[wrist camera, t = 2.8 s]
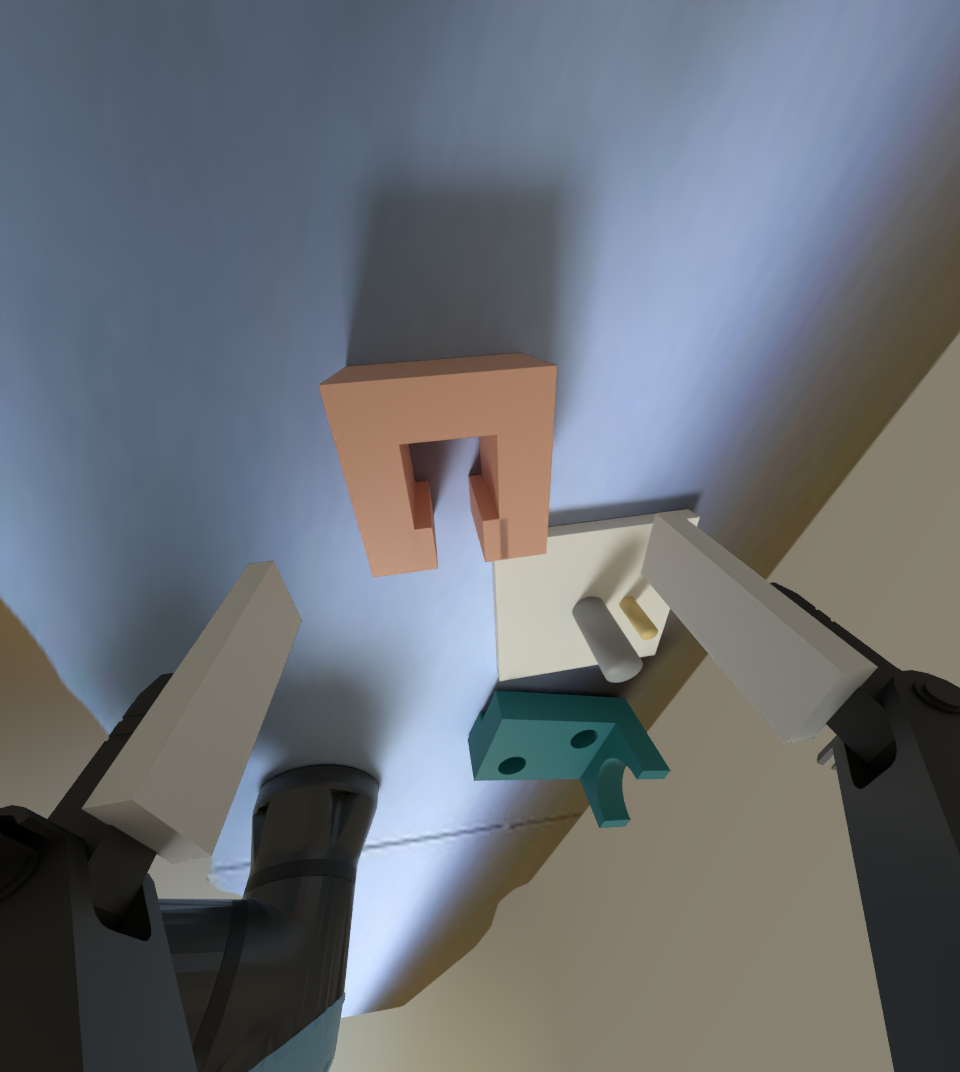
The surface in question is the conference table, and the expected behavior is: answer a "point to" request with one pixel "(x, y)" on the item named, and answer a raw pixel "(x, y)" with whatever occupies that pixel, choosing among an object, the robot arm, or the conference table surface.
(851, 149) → the conference table surface
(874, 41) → the conference table surface
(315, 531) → the conference table surface
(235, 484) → the conference table surface
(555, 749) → the teal l-shaped bracket
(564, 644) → the base
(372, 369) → the orange arch block
